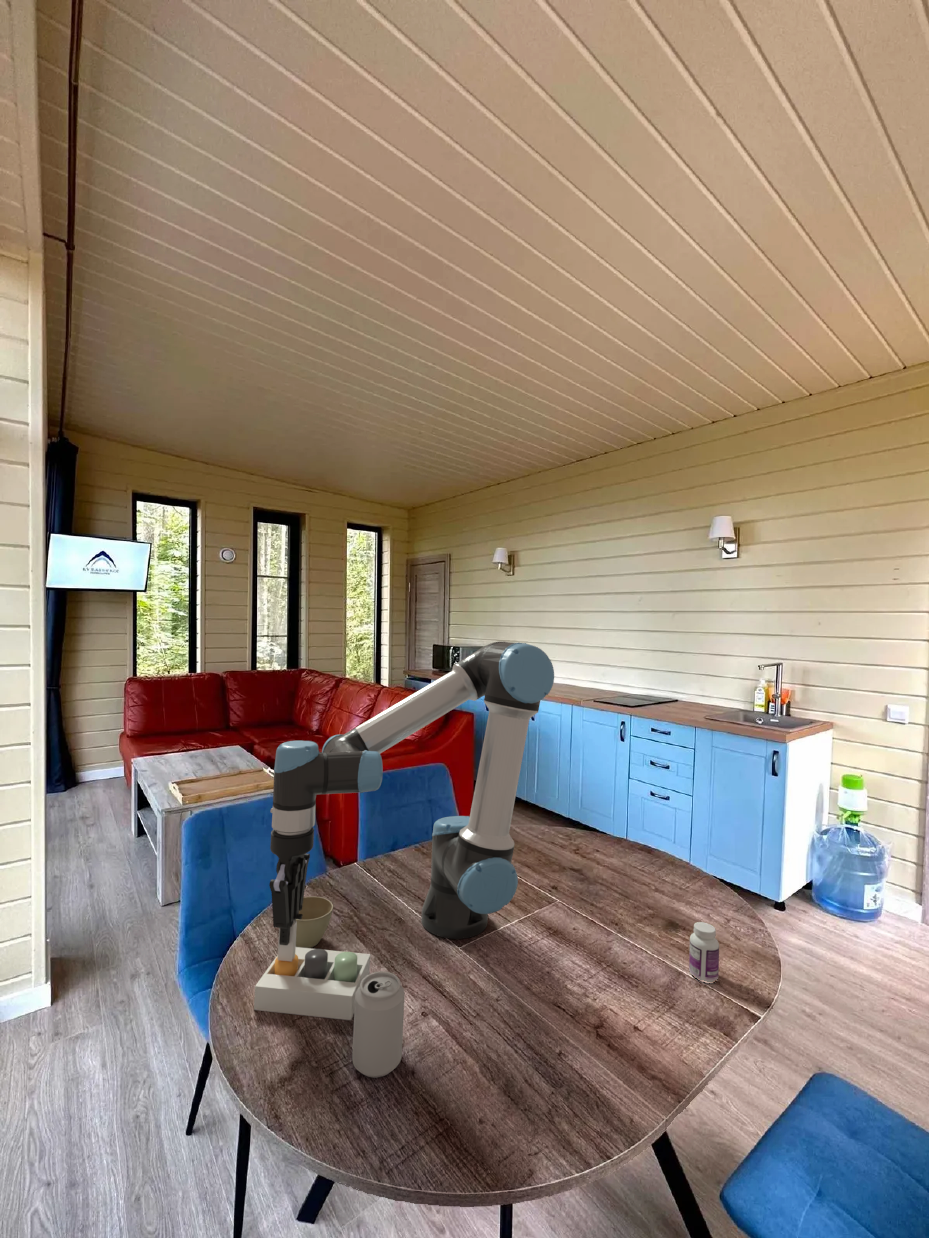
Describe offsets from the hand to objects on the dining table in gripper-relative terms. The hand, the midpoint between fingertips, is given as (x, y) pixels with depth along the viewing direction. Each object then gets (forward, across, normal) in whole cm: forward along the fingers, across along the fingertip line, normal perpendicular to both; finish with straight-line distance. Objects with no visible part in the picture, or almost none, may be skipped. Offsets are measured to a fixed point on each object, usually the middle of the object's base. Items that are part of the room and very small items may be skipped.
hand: (286, 958), depth 99 cm
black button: (+3, 0, +6) cm, 6 cm away
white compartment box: (+5, 0, +6) cm, 8 cm away
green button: (+3, 0, +11) cm, 11 cm away
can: (+6, +14, +20) cm, 25 cm away
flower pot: (+6, -15, -2) cm, 16 cm away
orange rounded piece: (+4, 0, 0) cm, 4 cm away
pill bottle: (+6, -16, +79) cm, 81 cm away
